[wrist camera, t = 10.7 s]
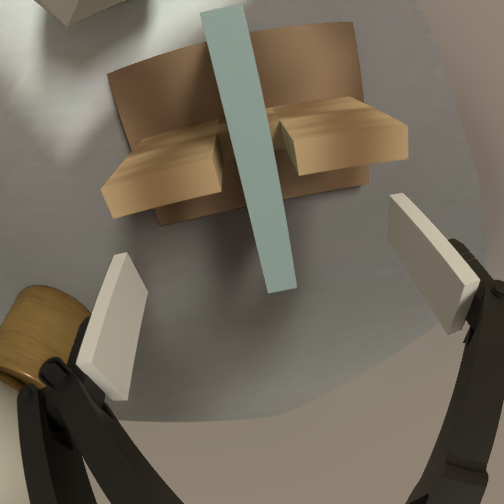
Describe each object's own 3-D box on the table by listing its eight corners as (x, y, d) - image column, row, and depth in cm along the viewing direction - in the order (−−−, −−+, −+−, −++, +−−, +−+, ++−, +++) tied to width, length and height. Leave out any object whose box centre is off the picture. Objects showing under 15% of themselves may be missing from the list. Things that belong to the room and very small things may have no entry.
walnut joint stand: (162, 219, 24) (137, 300, 17) (112, 72, 18) (44, 93, 10) (364, 178, 23) (418, 244, 16) (347, 22, 16) (416, 14, 9)
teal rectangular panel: (257, 219, 24) (268, 293, 17) (212, 27, 16) (199, 13, 9) (278, 214, 24) (297, 287, 17) (237, 22, 16) (242, 3, 9)
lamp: (-21, 256, 25) (-121, 453, 5) (79, 249, 26) (-22, 537, 5) (33, 348, 34) (-15, 516, 14) (124, 354, 34) (95, 561, 14)
